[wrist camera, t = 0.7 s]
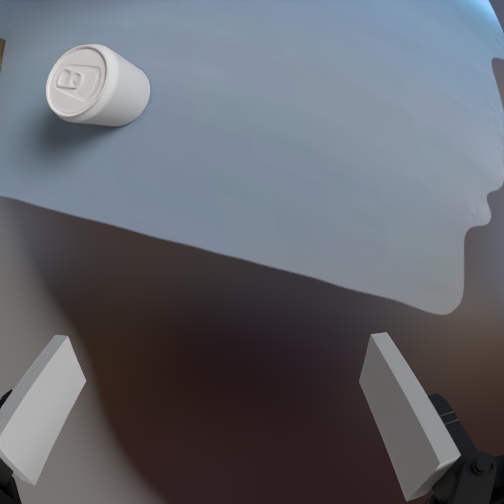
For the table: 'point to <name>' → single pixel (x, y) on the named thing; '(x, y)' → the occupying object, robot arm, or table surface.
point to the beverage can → (96, 87)
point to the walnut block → (1, 50)
